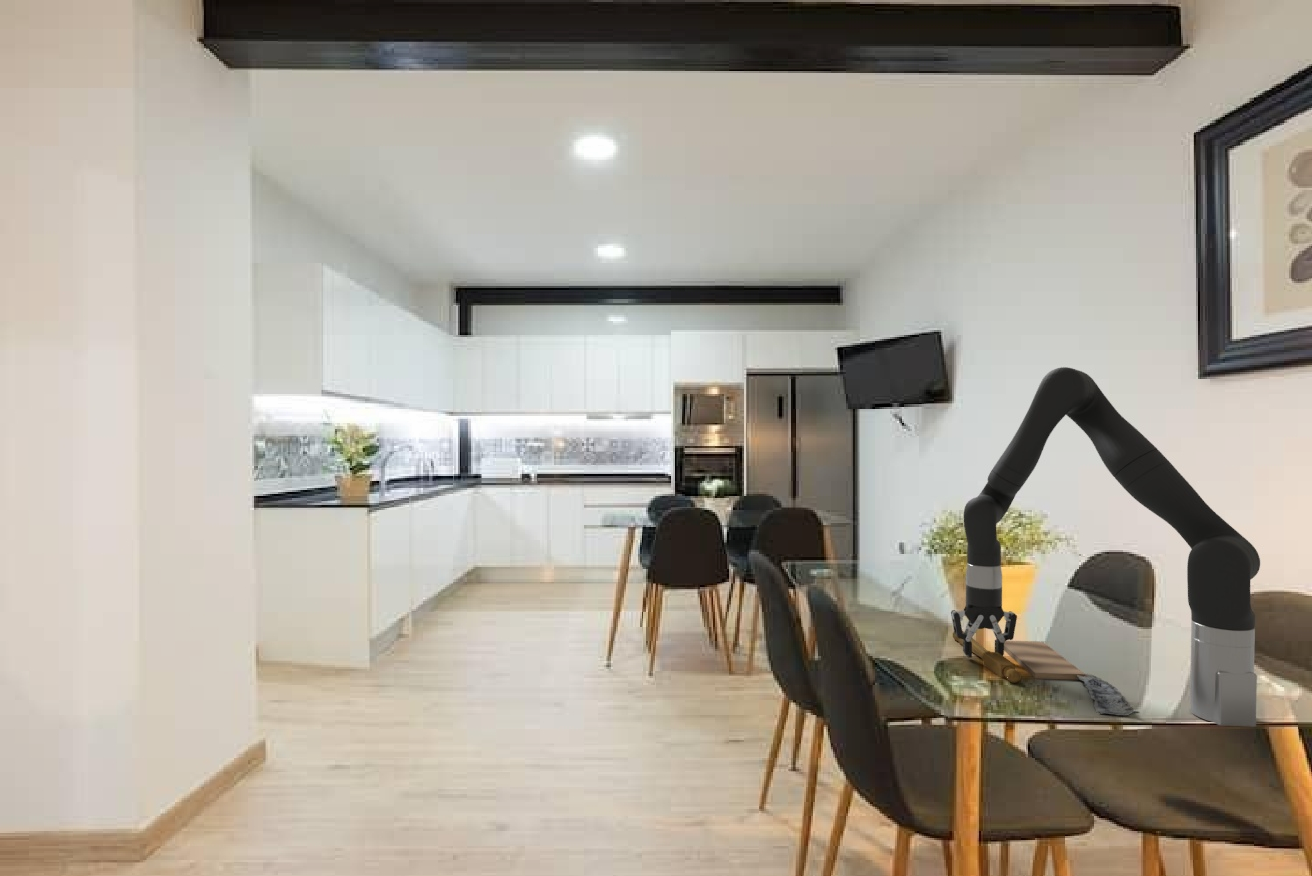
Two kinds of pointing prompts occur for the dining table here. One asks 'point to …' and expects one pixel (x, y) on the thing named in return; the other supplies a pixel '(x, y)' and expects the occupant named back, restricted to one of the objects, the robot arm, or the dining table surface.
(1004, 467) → the robot arm
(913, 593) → the dining table surface
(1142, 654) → the dining table surface
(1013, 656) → the cutting board
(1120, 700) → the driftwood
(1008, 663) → the tap handle
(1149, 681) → the dining table surface
